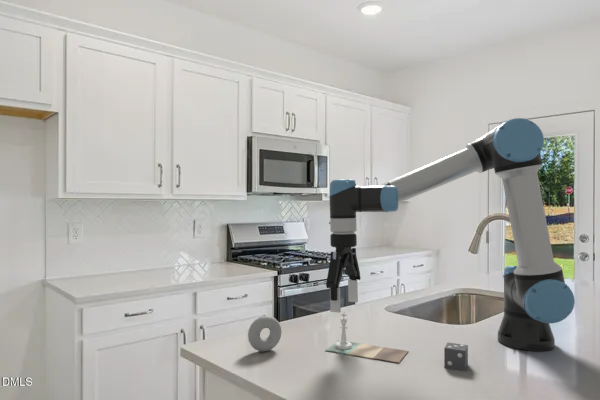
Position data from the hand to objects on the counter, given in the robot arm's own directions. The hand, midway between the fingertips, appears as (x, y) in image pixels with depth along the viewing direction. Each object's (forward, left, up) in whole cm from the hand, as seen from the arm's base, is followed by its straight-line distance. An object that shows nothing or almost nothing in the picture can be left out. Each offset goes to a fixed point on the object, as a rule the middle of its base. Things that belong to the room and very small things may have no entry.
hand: (344, 306), depth 128 cm
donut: (+19, +13, -12) cm, 26 cm away
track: (-7, 0, -12) cm, 14 cm away
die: (-31, 0, -12) cm, 33 cm away
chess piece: (0, 0, -12) cm, 12 cm away
